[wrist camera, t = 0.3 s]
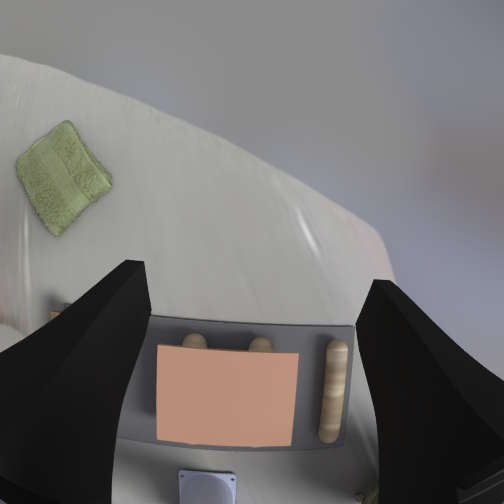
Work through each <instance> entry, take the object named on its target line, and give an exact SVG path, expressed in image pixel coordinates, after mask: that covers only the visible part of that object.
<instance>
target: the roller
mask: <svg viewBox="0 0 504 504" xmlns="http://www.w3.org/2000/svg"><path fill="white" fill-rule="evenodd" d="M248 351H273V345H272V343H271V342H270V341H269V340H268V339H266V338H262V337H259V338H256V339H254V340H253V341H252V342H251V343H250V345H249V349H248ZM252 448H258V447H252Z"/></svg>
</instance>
